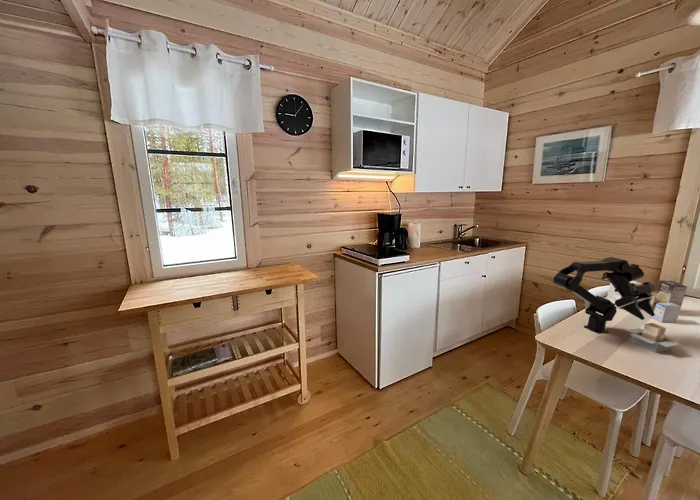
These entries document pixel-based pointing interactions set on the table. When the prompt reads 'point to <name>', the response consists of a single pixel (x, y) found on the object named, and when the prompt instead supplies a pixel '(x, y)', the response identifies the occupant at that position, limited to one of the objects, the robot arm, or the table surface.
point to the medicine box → (666, 312)
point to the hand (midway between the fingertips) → (648, 317)
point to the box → (654, 332)
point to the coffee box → (669, 293)
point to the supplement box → (615, 295)
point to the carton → (650, 344)
